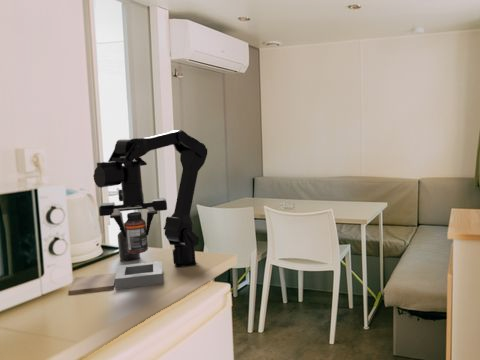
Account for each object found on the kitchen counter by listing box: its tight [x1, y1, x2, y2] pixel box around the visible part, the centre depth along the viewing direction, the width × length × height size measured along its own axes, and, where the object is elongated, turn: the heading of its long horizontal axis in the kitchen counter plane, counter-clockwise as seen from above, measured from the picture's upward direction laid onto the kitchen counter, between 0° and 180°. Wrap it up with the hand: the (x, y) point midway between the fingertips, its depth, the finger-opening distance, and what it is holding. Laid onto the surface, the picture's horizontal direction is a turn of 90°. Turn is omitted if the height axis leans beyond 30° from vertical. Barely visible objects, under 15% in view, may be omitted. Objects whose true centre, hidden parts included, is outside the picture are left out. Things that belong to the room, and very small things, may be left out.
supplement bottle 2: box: [117, 222, 141, 262], centre depth 162 cm, size 7×7×12 cm
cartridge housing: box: [114, 260, 164, 290], centre depth 138 cm, size 13×13×3 cm
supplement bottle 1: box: [124, 211, 149, 254], centre depth 137 cm, size 6×6×11 cm
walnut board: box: [67, 272, 116, 295], centre depth 136 cm, size 12×12×1 cm
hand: (136, 236), depth 137 cm, fingers closed on supplement bottle 1, 6 cm apart
